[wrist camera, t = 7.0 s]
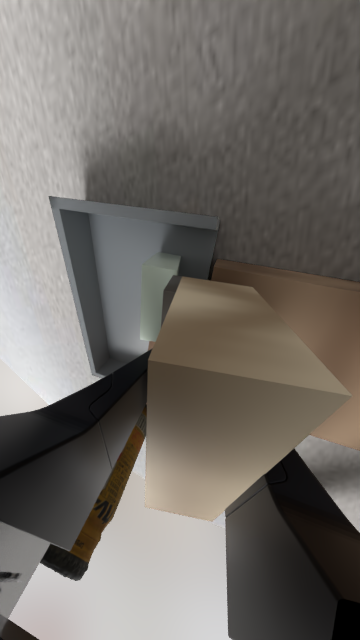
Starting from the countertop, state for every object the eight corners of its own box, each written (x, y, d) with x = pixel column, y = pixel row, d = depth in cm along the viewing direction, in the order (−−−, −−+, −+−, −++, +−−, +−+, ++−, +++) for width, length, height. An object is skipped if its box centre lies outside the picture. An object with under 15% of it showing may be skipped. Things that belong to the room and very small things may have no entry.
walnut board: (525, 309, 8) (678, 347, 5) (372, 419, 13) (409, 466, 10) (217, 258, 10) (213, 266, 7) (192, 368, 15) (185, 395, 12)
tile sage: (177, 270, 7) (142, 264, 7) (166, 343, 9) (139, 339, 9) (181, 255, 10) (157, 251, 10) (173, 310, 12) (153, 307, 12)
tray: (220, 221, 9) (218, 216, 7) (186, 381, 16) (180, 403, 14) (84, 203, 10) (48, 196, 8) (108, 357, 17) (92, 375, 15)
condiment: (102, 400, 22) (1, 537, 12) (133, 379, 18) (16, 561, 8) (140, 429, 24) (76, 575, 14) (176, 415, 20) (123, 612, 9)
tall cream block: (252, 287, 7) (353, 395, 2) (207, 408, 11) (212, 521, 7) (173, 275, 7) (122, 355, 2) (160, 399, 11) (136, 505, 7)
